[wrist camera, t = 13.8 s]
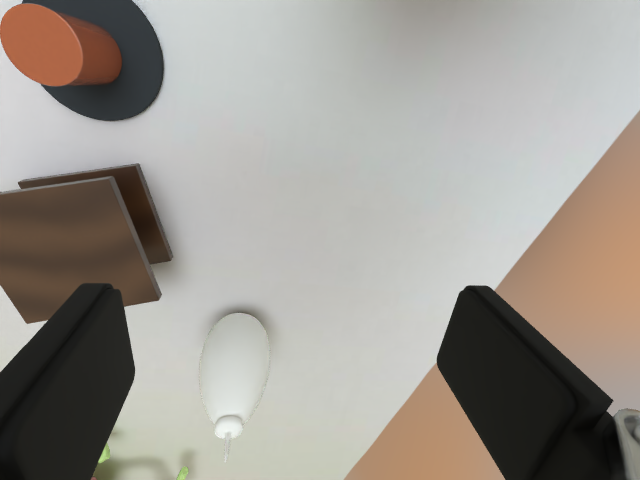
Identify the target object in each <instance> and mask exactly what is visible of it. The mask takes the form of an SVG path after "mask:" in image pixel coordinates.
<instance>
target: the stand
mask: <svg viewBox="0 0 640 480" xmlns="http://www.w3.org/2000/svg"><path fill="white" fill-rule="evenodd" d="M18 184H19V186H20V188H21V189H19V190H12V191H6V192H0V285H1V287H2V288H3V289H4V291H5V292H6V294H7V295H8V297H9V298H10V300H11V301H12V303H13V304H14V306H15V307H16V309H17V310H18V312H19V313H20V315H21V316H22V318H23V319H24V321H25V322H26V323H27V324H29V323H34V322H40V321H46V320H49V319H50V318H51V317H52V316H53V315H54V313H55V312H56V311H57V310H58V309H59V308H60V307H61V306H62V305H63V303H64V302H65V301H66V300H67V299H68V298H69V297H70V296H71V295H72V293H73V292H74V291H75V290H76V289H77V288H78V287H79V286H80V285H81V284H83V283H110V284H112V286H113V288H114V289H119V290H120V291H121V294H122V300H123V305H124V306H130V305H136V304H141V303H147V302H152V301H158V300H159V299H160V297H161V295H162V294H161V291H160V289H159V286H158V284H157V281H156V279H155V277H154V274H153V272H152V269H151V267H150V264H155V263H161V262H167V261H171V260H172V258H173V255H172V253H171V250H170V247H169V244H168V242H167V239H166V236H165V234H164V231H163V228H162V225H161V223H160V220H159V217H158V214H157V212H156V209H155V206H154V203H153V201H152V198H151V195H150V193H149V190H148V187H147V184H146V182H145V179H144V176H143V173H142V171H141V168H140V165H139V164H131V165H124V166H117V167H110V168H103V169H96V170H89V171H82V172H75V173H68V174H61V175H54V176H47V177H40V178H33V179H26V180H22V181H20V182H18Z"/></svg>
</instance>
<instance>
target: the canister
mask: <svg viewBox="0 0 640 480" xmlns="http://www.w3.org/2000/svg"><path fill="white" fill-rule="evenodd" d="M0 38H1V43H2V45H3V48H4V50H5V53H6V54H7V56H8V58H9V59H10V61H11V62H12V63H13V64H14V65H15V67H16V68H17V69H18V70H19V71H21V72H22V73H23V74H24V75H26V76H27V77H29V78H30V79H32V80H34V81H36V82H38V83H41V84H44V85H48V86H87V85H105V84H108V83H111V82H112V81H114V80H115V79H116V78H117V77H118V75H119V73H120V71H121V67H122V57H121V53H120V50H119V47H118V45H117V43H116V42H115V40H114V39H113V37H112V36H111V35H110V34H109V33H108V32H107V31H106V30H104V29H103V28H102V27H100V26H98V25H96V24H94V23H91V22H88V21H85V20H82V19H79V18H76V17H73V16H71V15H68V14H65V13H62V12H59V11H56V10H53V9H50V8H47V7H44V6H41V5H37V4H30V3H26V4H19V5H16V6H14V7H12V8H11V9H9V10H8V11H7V12H6V13H5V15H4V16H3V18H2V21H1V25H0Z"/></svg>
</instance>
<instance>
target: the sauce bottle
mask: <svg viewBox="0 0 640 480" xmlns="http://www.w3.org/2000/svg"><path fill="white" fill-rule="evenodd" d="M269 367H270V346H269V340H268V336H267V334H266V331H265V329H264V327H263V326H262V325H261V323H260V322H259V321H258V320H257V319H256V318H255V317H253V316H251V315H249V314H245V313H233V314H229V315H227V316H225V317H223V318H222V319H221V320H220V321H218V322H217V323H216V324H215V326H214V327H213V328H212V329H211V331H210V332H209V334H208V336H207V338H206V340H205V343H204V345H203V349H202V353H201V358H200V364H199V385H200V392H201V397H202V401H203V404H204V407H205V410H206V413H207V415H208V417H209V419H210V420H211V422H212V423H213V425H214V426H215V427H214V431H215V434H216V436H217V437H219V438H221V439H225V448H224V461H225V462H226V461H227V458H228V453H229V447H230V439H234V438H236V437H238V436H239V435H240V434H241V433H242V431H243V425H244V424H245V423H246V422H247V421H248V420H249V418H250V417H251V416H252V414H253V412H254V411H255V409H256V407H257V405H258V403H259V401H260V399H261V397H262V394H263V392H264V389H265V386H266V382H267V379H268V374H269Z"/></svg>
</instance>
